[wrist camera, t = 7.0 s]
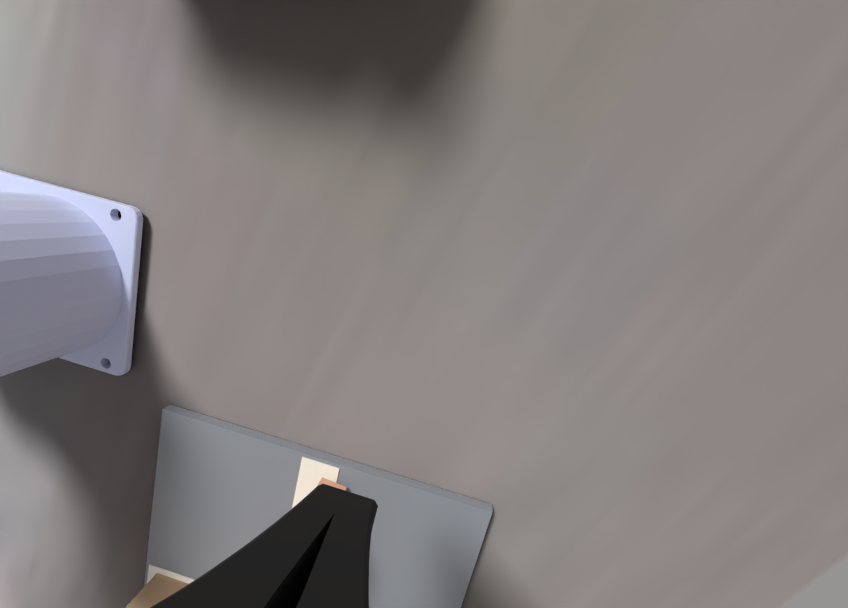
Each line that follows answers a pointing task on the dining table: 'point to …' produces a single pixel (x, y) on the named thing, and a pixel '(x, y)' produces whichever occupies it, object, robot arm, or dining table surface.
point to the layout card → (282, 490)
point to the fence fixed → (156, 591)
